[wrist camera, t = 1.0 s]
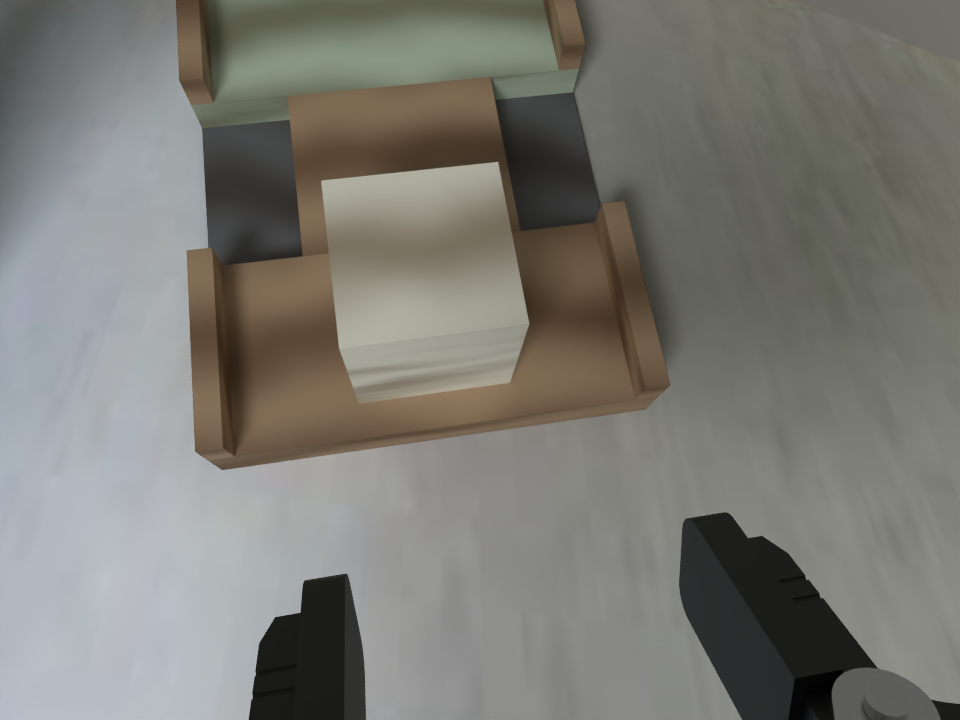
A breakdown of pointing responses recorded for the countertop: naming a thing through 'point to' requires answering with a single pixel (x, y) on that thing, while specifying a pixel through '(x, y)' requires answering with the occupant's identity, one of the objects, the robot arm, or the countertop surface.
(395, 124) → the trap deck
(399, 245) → the block
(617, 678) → the countertop surface
